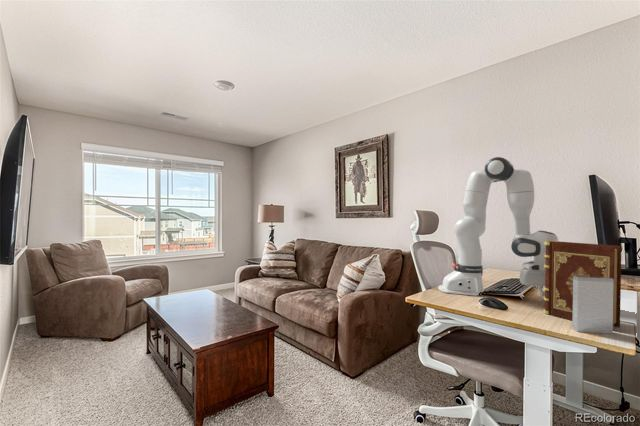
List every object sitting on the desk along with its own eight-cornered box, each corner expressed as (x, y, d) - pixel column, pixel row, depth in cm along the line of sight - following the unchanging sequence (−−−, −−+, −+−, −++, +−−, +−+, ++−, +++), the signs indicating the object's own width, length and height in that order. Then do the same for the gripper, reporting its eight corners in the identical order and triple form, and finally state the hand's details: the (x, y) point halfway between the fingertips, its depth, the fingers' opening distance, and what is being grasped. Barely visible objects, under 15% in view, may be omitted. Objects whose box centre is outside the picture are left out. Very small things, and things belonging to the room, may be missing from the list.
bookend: (577, 331, 106) (577, 277, 106) (572, 328, 108) (573, 275, 108) (612, 334, 104) (613, 278, 104) (607, 331, 106) (607, 277, 106)
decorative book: (540, 312, 126) (541, 241, 125) (548, 309, 130) (550, 240, 130) (612, 331, 106) (614, 247, 106) (620, 327, 111) (621, 245, 110)
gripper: (566, 265, 141) (564, 295, 141) (518, 263, 144) (517, 292, 144) (575, 268, 134) (573, 299, 135) (525, 265, 138) (524, 295, 138)
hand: (544, 295), depth 139 cm, fingers closed
